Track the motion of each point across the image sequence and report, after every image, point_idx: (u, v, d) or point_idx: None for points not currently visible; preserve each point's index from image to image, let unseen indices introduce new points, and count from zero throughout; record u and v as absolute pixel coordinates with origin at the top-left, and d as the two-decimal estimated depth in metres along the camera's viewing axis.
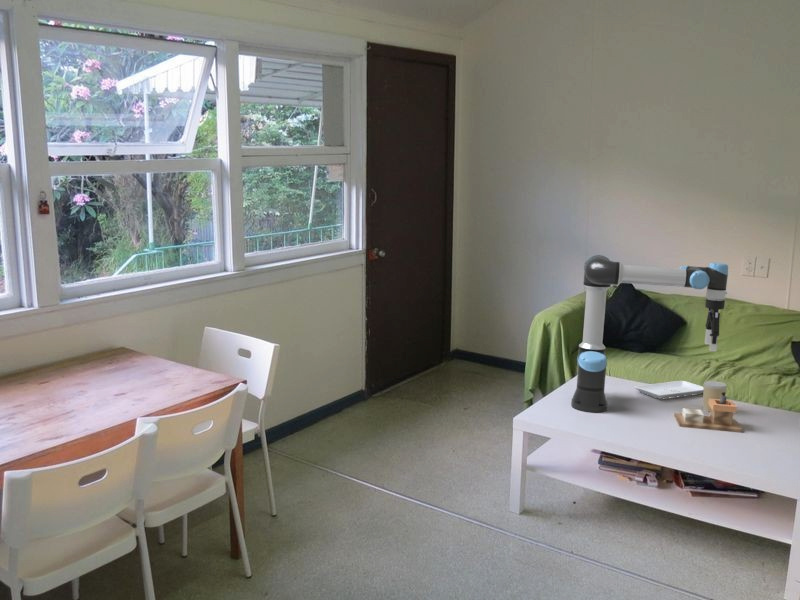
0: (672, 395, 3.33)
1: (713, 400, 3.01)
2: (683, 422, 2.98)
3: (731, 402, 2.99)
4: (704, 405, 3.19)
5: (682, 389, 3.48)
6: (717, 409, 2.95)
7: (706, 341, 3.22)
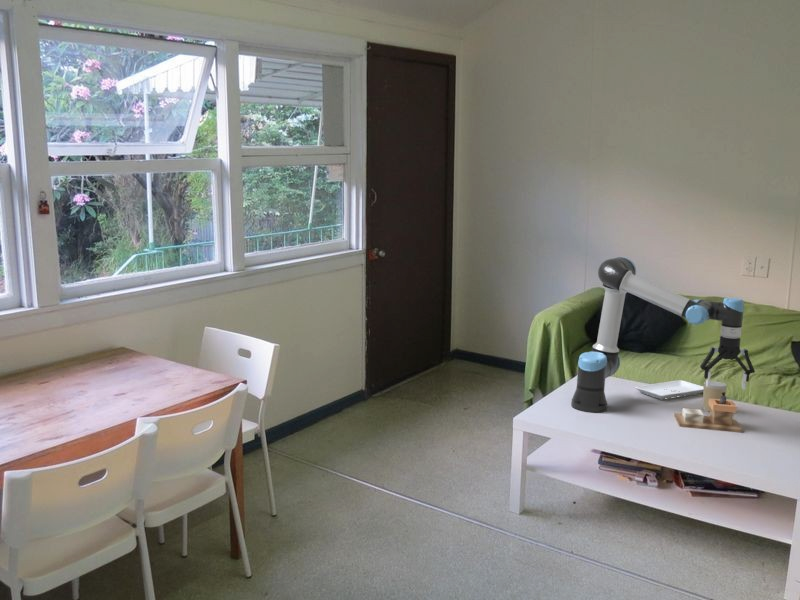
0: (673, 395, 3.33)
1: (713, 400, 3.01)
2: (683, 422, 2.98)
3: (731, 402, 2.99)
4: (704, 405, 3.19)
5: (681, 389, 3.48)
6: (717, 409, 2.95)
7: (742, 385, 2.97)
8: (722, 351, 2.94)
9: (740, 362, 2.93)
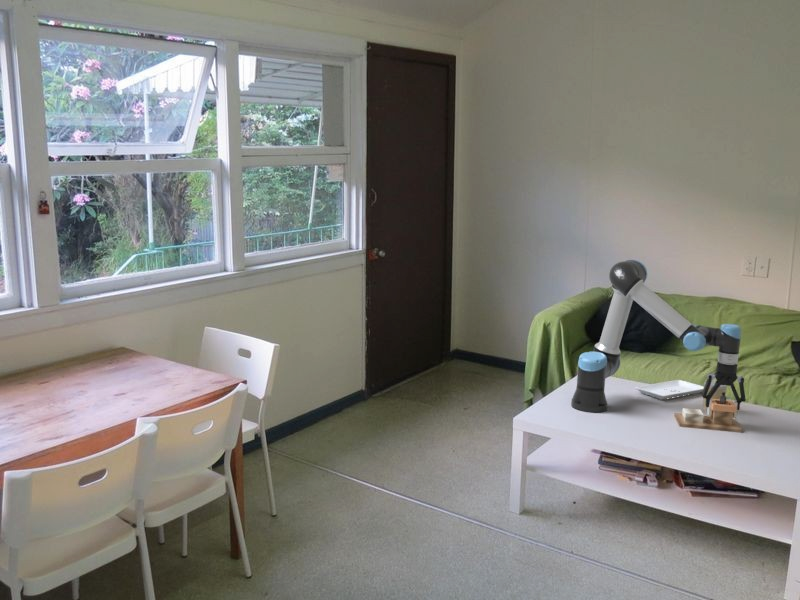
0: (674, 395, 3.33)
1: (713, 400, 3.01)
2: (683, 422, 2.98)
3: (731, 402, 2.99)
4: (704, 405, 3.19)
5: (680, 388, 3.48)
6: (717, 409, 2.95)
7: None
8: (719, 377, 2.96)
9: (734, 389, 2.96)
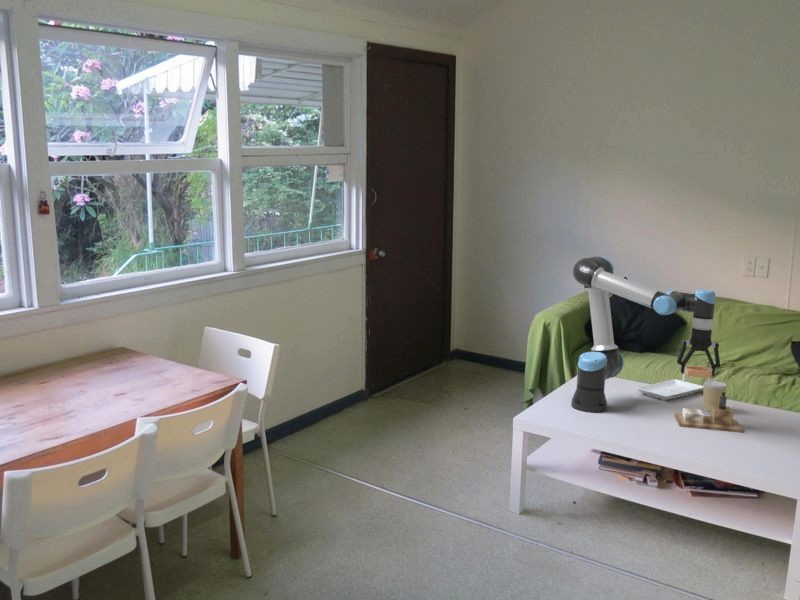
0: (676, 395, 3.33)
1: (688, 366, 3.01)
2: (683, 422, 2.98)
3: (706, 368, 2.99)
4: (704, 405, 3.19)
5: (678, 388, 3.49)
6: (692, 375, 2.95)
7: (708, 379, 2.99)
8: (694, 342, 2.96)
9: (709, 355, 2.96)
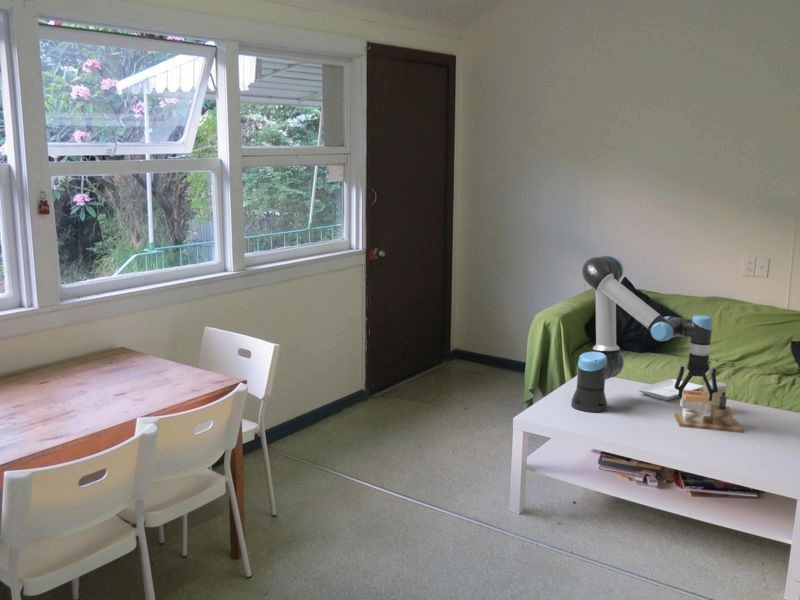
0: (677, 395, 3.33)
1: (686, 391, 3.03)
2: (683, 422, 2.98)
3: (704, 393, 3.01)
4: (704, 405, 3.19)
5: None
6: (689, 400, 2.97)
7: (705, 404, 3.01)
8: (691, 368, 2.98)
9: (706, 380, 2.97)
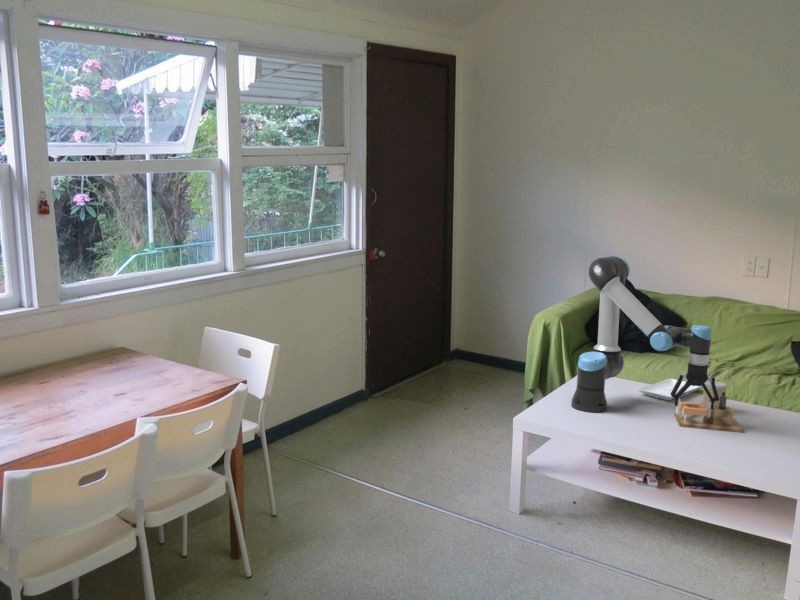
0: None
1: (684, 403, 3.04)
2: (683, 422, 2.98)
3: (702, 405, 3.02)
4: (704, 405, 3.19)
5: None
6: (687, 412, 2.98)
7: None
8: (690, 377, 2.98)
9: (706, 389, 2.98)
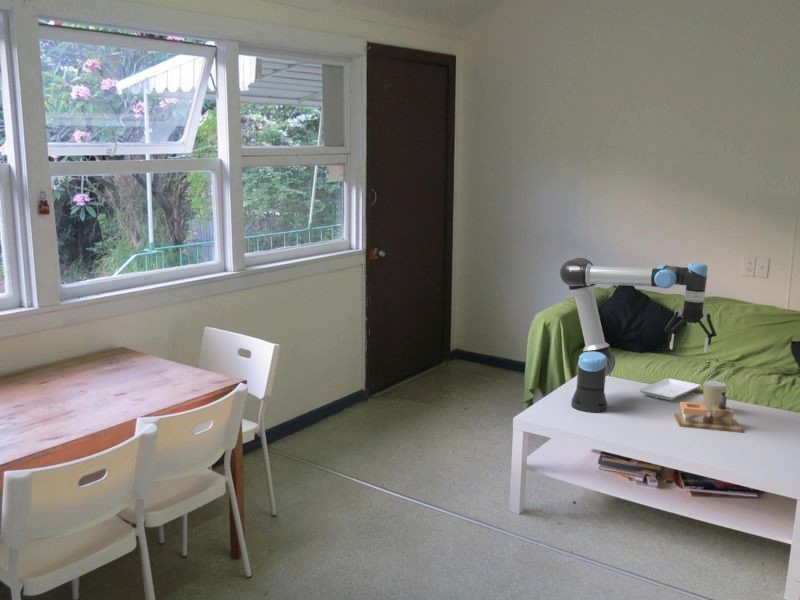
0: (679, 395, 3.33)
1: (684, 403, 3.04)
2: (683, 422, 2.98)
3: (702, 405, 3.02)
4: (704, 405, 3.19)
5: (675, 387, 3.50)
6: (687, 412, 2.98)
7: (704, 348, 3.07)
8: (685, 315, 3.05)
9: (702, 326, 3.04)
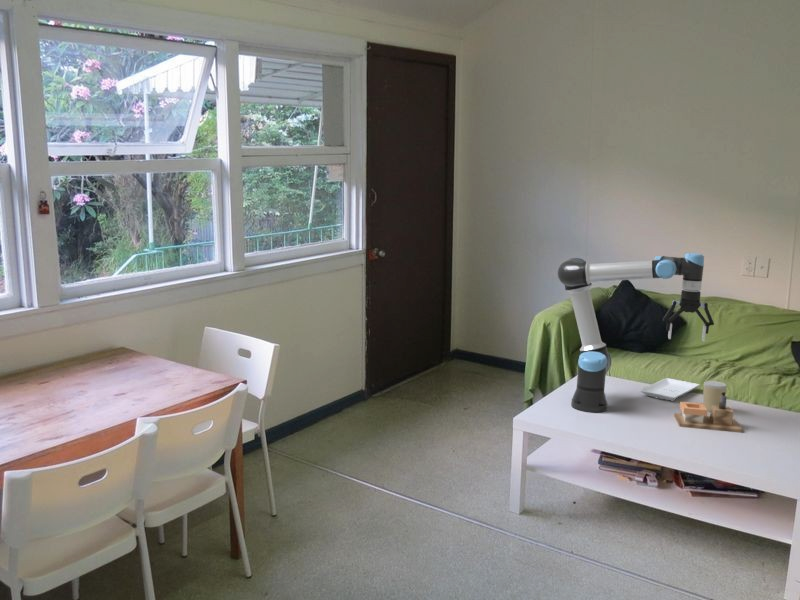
0: (680, 395, 3.33)
1: (684, 403, 3.04)
2: (683, 422, 2.98)
3: (702, 405, 3.02)
4: (704, 405, 3.19)
5: (674, 387, 3.51)
6: (687, 412, 2.98)
7: (702, 337, 3.10)
8: (683, 304, 3.08)
9: (700, 315, 3.07)
